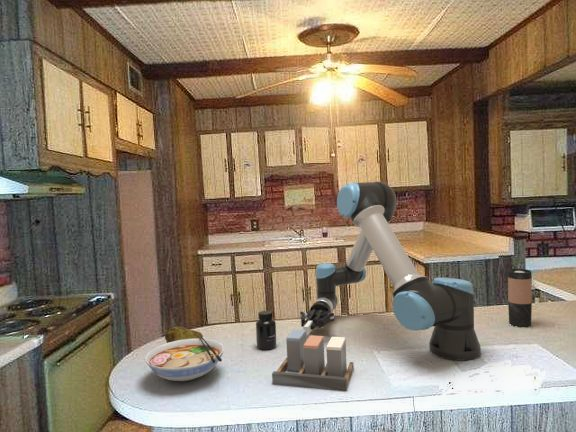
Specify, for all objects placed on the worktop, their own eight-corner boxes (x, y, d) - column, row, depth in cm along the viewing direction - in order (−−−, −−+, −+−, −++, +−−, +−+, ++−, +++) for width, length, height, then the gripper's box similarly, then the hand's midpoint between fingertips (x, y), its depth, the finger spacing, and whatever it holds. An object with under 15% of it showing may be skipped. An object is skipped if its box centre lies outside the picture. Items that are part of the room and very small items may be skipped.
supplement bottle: (274, 351, 144) (272, 315, 143) (254, 350, 145) (252, 315, 144) (278, 343, 150) (277, 309, 149) (259, 342, 152) (258, 309, 151)
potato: (205, 349, 148) (203, 326, 147) (166, 355, 144) (164, 332, 143) (202, 341, 156) (201, 320, 155) (165, 347, 152) (164, 324, 151)
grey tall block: (333, 369, 127) (331, 336, 126) (346, 370, 126) (345, 337, 125) (327, 381, 119) (326, 346, 118) (342, 382, 118) (340, 347, 117)
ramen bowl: (143, 368, 134) (141, 342, 134) (215, 354, 143) (214, 330, 142) (149, 404, 111) (147, 373, 111) (235, 385, 120) (233, 356, 119)
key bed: (287, 363, 133) (286, 354, 133) (353, 368, 127) (353, 358, 127) (272, 384, 119) (271, 373, 119) (346, 390, 113) (345, 379, 113)
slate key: (295, 359, 135) (293, 328, 134) (307, 360, 134) (306, 329, 133) (287, 370, 127) (286, 337, 127) (300, 371, 126) (299, 338, 126)
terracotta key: (311, 367, 129) (310, 335, 128) (324, 368, 127) (323, 336, 127) (305, 379, 121) (303, 345, 120) (318, 380, 120) (317, 346, 119)
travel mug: (536, 327, 154) (535, 272, 153) (514, 328, 154) (514, 273, 153) (524, 320, 162) (524, 268, 161) (504, 321, 162) (503, 269, 161)
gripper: (338, 320, 162) (325, 343, 139) (305, 319, 166) (287, 340, 143) (338, 301, 161) (325, 320, 139) (304, 299, 165) (286, 318, 143)
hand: (305, 330), depth 141 cm, fingers closed
